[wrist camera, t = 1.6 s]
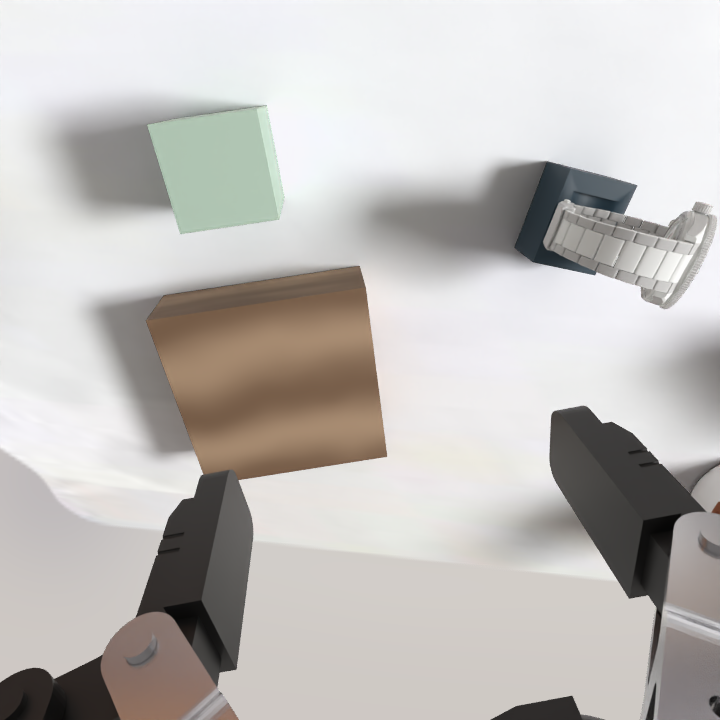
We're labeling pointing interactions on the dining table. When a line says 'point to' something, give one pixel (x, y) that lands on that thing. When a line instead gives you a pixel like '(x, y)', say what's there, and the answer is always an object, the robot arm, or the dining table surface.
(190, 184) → the block
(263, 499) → the dining table surface
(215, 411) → the plinth
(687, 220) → the watch
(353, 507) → the dining table surface
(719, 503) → the milk bottle
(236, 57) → the dining table surface
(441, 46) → the dining table surface
